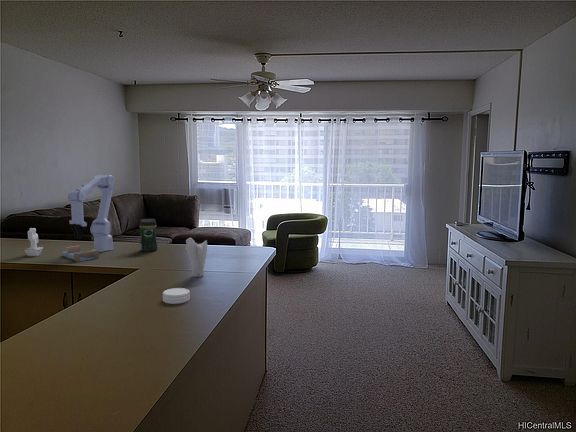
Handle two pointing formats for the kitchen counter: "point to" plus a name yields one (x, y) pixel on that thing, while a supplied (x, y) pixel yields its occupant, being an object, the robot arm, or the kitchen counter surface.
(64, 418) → the kitchen counter surface
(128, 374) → the kitchen counter surface
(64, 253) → the slab with raised block
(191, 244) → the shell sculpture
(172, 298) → the coaster
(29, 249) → the figurine
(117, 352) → the kitchen counter surface
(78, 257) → the striped blue tabbed panel
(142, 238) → the coffee jar
